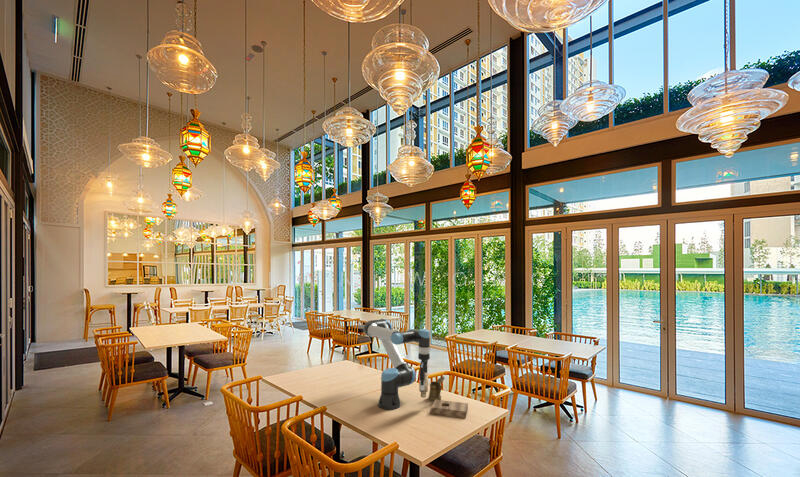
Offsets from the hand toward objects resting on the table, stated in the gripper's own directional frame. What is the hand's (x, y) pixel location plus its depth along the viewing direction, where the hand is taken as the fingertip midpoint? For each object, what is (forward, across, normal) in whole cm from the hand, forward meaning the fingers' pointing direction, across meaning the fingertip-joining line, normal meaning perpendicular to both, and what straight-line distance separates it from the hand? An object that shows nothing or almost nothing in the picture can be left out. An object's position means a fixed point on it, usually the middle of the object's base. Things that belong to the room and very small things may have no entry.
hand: (423, 388), depth 237 cm
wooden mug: (+14, +20, -6) cm, 25 cm away
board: (+13, +2, -18) cm, 22 cm away
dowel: (+5, 0, 0) cm, 5 cm away
